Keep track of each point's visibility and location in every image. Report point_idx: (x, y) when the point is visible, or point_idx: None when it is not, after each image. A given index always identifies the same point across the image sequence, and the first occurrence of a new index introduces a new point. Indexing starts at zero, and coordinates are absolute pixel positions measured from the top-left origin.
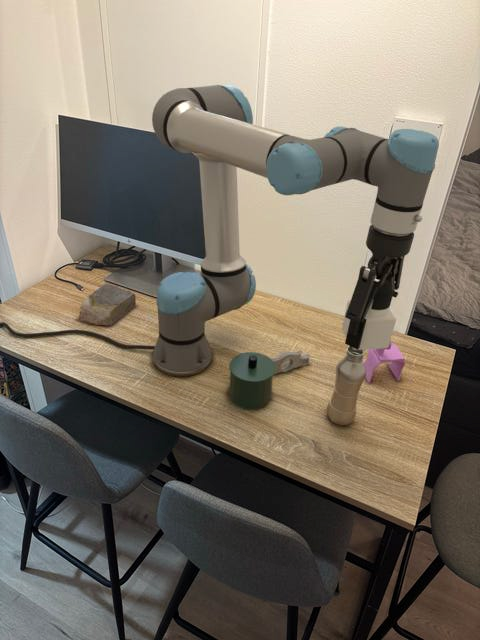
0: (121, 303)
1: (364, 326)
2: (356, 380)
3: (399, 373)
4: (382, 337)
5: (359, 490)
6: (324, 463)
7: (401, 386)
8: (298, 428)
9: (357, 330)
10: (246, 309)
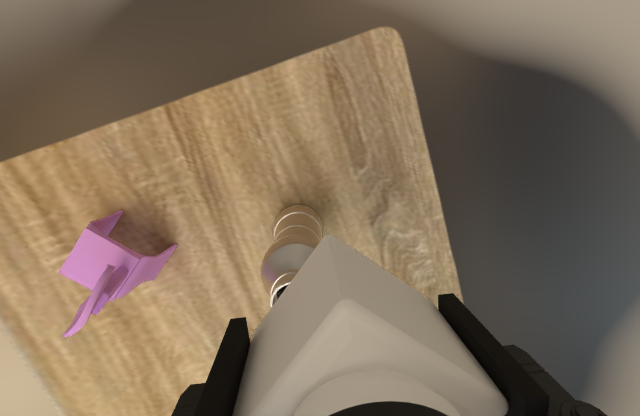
0: None
1: (500, 364)
2: (316, 243)
3: (109, 218)
4: (367, 273)
5: (403, 113)
6: (397, 183)
7: (131, 198)
8: (367, 254)
9: (521, 364)
10: None
